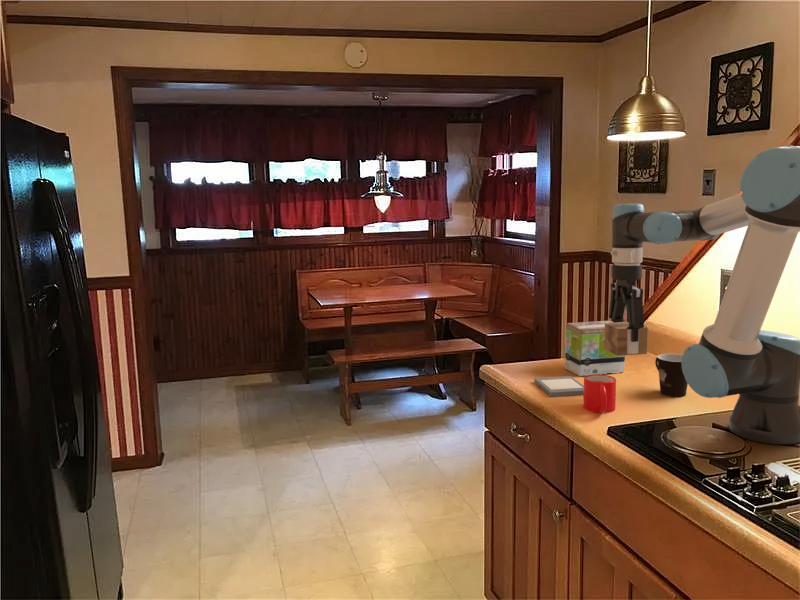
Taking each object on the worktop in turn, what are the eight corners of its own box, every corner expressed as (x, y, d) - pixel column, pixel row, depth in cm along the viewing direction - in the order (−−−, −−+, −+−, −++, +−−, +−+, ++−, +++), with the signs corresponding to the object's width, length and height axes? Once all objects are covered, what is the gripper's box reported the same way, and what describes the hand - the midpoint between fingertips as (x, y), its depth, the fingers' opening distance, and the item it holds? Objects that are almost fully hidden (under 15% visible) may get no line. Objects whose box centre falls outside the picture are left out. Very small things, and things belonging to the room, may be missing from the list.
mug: (588, 418, 162) (589, 387, 161) (580, 403, 174) (581, 373, 172) (621, 419, 161) (622, 387, 160) (611, 403, 173) (612, 374, 171)
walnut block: (646, 353, 171) (647, 327, 170) (617, 355, 170) (617, 328, 169) (632, 347, 179) (633, 321, 178) (604, 348, 178) (604, 323, 177)
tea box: (580, 377, 196) (581, 328, 194) (564, 369, 206) (565, 322, 204) (625, 373, 200) (627, 325, 197) (607, 364, 210) (609, 319, 207)
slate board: (589, 394, 180) (589, 390, 180) (550, 396, 179) (550, 392, 179) (570, 380, 194) (571, 375, 194) (534, 382, 193) (534, 378, 193)
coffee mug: (693, 399, 174) (695, 362, 173) (659, 397, 176) (660, 361, 174) (684, 386, 186) (685, 351, 184) (651, 385, 187) (653, 350, 186)
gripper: (596, 260, 181) (595, 342, 185) (631, 268, 161) (629, 359, 164) (622, 259, 182) (621, 340, 185) (660, 267, 161) (658, 358, 165)
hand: (624, 349), depth 175 cm, fingers closed on walnut block, 8 cm apart
